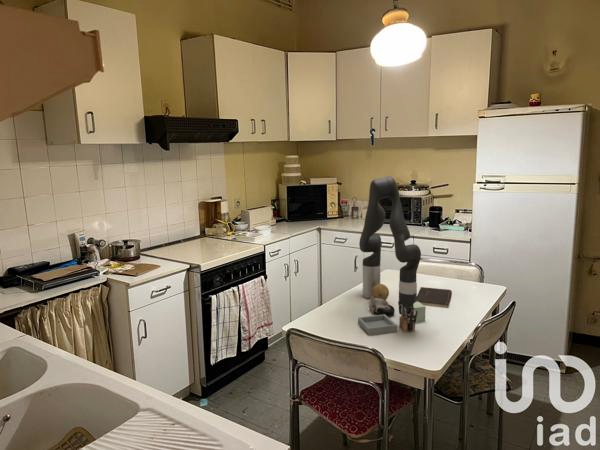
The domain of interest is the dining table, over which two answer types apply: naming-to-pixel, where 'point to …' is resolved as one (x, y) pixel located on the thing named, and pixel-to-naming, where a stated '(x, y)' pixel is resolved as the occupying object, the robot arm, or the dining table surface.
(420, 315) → the sage block
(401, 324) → the walnut block
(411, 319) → the robot arm
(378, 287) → the natural sponge
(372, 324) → the grey tray
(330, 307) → the dining table surface
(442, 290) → the hardcover book
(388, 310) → the caster wheel
